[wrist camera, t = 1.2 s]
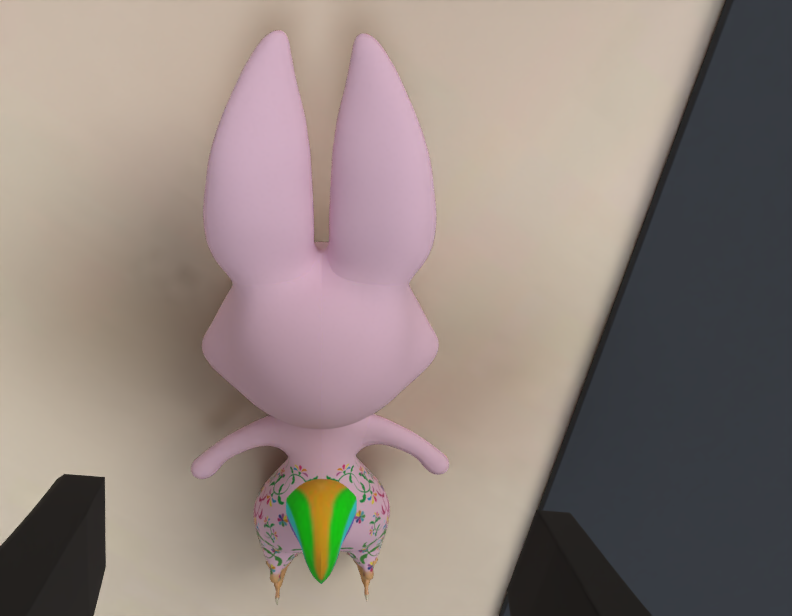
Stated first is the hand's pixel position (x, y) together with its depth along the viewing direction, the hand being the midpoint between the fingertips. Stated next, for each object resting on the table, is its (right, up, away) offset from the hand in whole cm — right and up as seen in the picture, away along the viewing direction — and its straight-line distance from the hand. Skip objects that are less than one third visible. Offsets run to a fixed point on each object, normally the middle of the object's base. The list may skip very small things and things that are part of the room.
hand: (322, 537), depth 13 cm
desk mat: (+12, +2, +8) cm, 15 cm away
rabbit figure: (-1, +3, +6) cm, 7 cm away
